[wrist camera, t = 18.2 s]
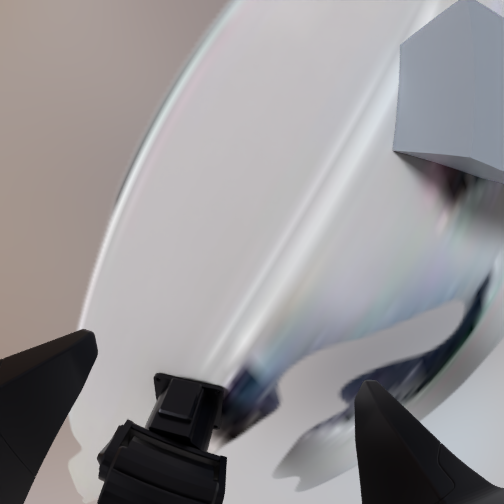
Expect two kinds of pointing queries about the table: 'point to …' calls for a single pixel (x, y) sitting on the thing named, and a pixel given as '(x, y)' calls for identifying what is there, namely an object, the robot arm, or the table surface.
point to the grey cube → (454, 91)
